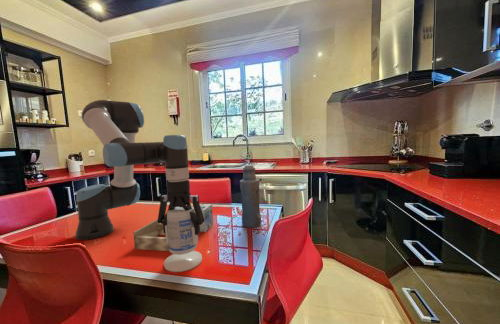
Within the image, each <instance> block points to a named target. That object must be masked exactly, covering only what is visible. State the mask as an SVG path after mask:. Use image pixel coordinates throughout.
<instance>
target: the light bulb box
mask: <svg viewBox="0 0 500 324" xmlns="http://www.w3.org/2000/svg"><path fill="white" fill-rule="evenodd" d="M199 204H200V207H201V210H202V213H203V217H204V220H205V221H204V222H203V223H202V224H201V225H200V233H206V232H207V231H209V229H210V228H211V227H213V225H214V213H213V204H212V203H211V204H210V203H199Z"/></svg>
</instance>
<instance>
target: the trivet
mask: <svg viewBox="0 0 500 324" xmlns="http://www.w3.org/2000/svg"><path fill="white" fill-rule="evenodd" d="M202 260H203V255H202V254H201V252H199V251H196V250H193V251H192V252H190V253H187V254H181V255H176V254H171V255H169V256H168V257H166V259H164V261H163V267H164V269H165V270H166V271H168V272H171V273H182V272H187V271H190V270H193V269H195V268H197V266H199V265H200V264H201V263H202Z"/></svg>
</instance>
